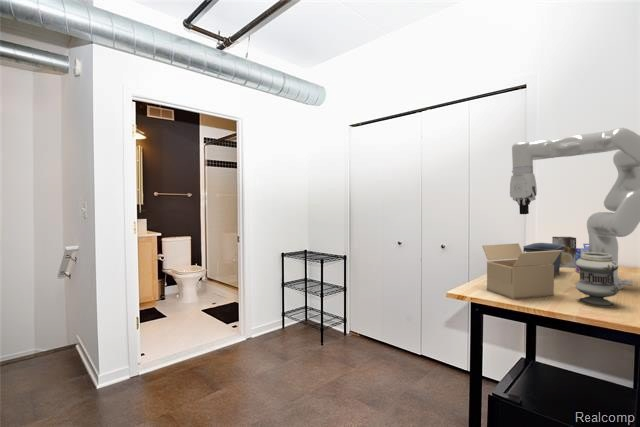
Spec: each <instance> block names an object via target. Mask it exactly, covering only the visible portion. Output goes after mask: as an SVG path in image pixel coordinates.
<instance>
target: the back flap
mask: <svg viewBox="0 0 640 427" xmlns="http://www.w3.org/2000/svg"><path fill="white" fill-rule="evenodd" d="M481 247H482V249H483V252H484V254H485V256H486V259H487V261H501V260H515V259H518V257H519V255H520V253H524V252H523V250H522V248H521V246H520V243H519V242H518V243H505V244H503V243H502V244H488V245H486V244H485V245H482V246H481Z"/></svg>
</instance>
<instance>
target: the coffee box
mask: <svg viewBox="0 0 640 427" xmlns="http://www.w3.org/2000/svg"><path fill="white" fill-rule="evenodd" d="M551 243H552V244H562V245H565V246H564V250H562V251H561V259H560V268H576V249H575V248H577V237H574V236H552V238H551Z"/></svg>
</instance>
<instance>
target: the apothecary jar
mask: <svg viewBox="0 0 640 427" xmlns="http://www.w3.org/2000/svg"><path fill="white" fill-rule="evenodd" d="M576 265H577V267H579V268H580V273H579V280H577V282H576V283H575V289H576V290H578V292H580V293H581V294H583V295H586V296H584V297H580V298H579V299H578V300H579V303H581V304H584V305H587V306H592V307H596V308H612V307H614V306H615V304H614V302H612V301H610V300H608V299H606V298H610V297H613V296H617V295H618V293H619V291H620V289H618V287H617V286H616V285H615V284H614V271H615V270H617V269H619V263H618V264H617V263H616V262H615V261H613V259H612V255H611V254H606V253H595V252H586V253H582V255H581V258H580V259H578V260H577V261H576Z"/></svg>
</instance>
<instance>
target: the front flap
mask: <svg viewBox="0 0 640 427" xmlns="http://www.w3.org/2000/svg"><path fill="white" fill-rule="evenodd" d="M561 251H562V250H554V251H539V252H523V253H520V255H519V257H518V258H516V259H517V260H516V262H515V264H514V267H516V266H529V265H542V264H553V263H554V262H555V260H556V259H557V257H558V256H559V254H560V253H561Z"/></svg>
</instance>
